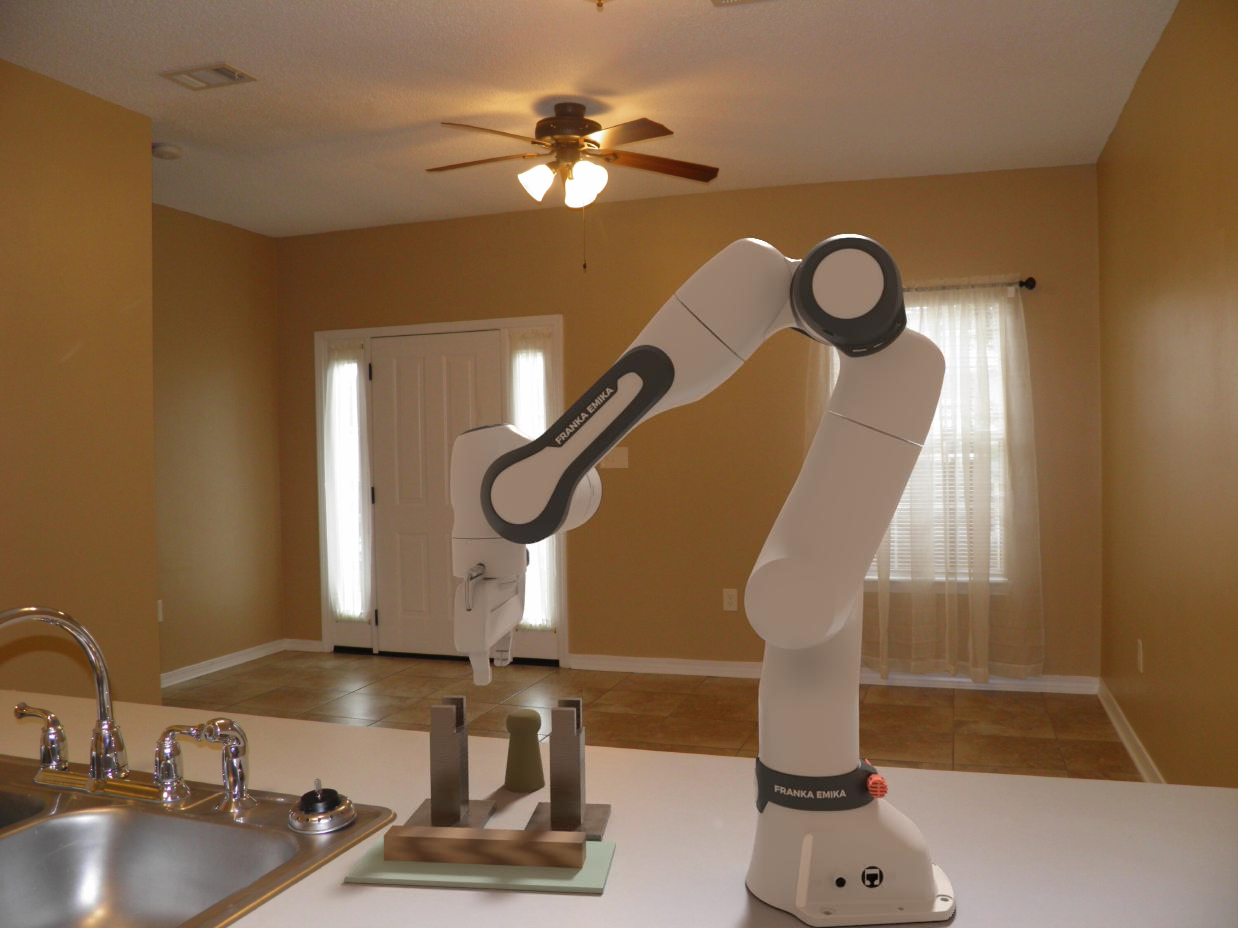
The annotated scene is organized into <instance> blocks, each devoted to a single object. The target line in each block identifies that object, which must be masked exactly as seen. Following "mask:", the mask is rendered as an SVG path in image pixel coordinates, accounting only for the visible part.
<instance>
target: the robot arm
mask: <svg viewBox="0 0 1238 928" xmlns="http://www.w3.org/2000/svg"><path fill="white" fill-rule="evenodd" d="M906 311H907V310H906V306H905V298H904V288H903V282H902V276H901V273H900V269H899V266H898V264H897V262H896V260H895V258H894V256H893V255H892V254H891V253H890V251H888V249H886V247H884V246H883V245H881V243H879V242H878V241H876V240H875V239H872V238H870V237H867V236H864V235H860V234H854V233H852V234H850V233H849V234H848V233H847V234H838V235H835V236H831V237H828V238H827V239H824V240H823V241H820V242H819V243H818V244H816V245H814V246H813V247H812V248H811V249H810V250H809V251H808V252H807V253H806V254H805V256H804V257H803V258H802V259H791V258H789V257H787V256H785V255H784V254H783V253H782V252H781V251H779V250H778V249H777V248H776V247H774V246H773V245H771V244H770V243H768V242H766V241H763V240H760V239H756V238H753V237H752V238H750V237H749V238H748V237H746V238H745V237H744V238H740V239H738V240H735V241H733V242H732V243H730V244H729V245H727V246H726V247H724V249H722V250H721V251H719V252H718V253H716V255H714V256H713V257H712V258H711V259H710V260H708V261H707V262H706V263H704V264H703V265H702V266H701V267H700V268H699V269H698V270H696V271H695V272H694V273H693V274H692V275H691V276H690V277H689V278H688V279H687V280H686V281H685V282H684V283H683V284H682V285H681V286H680V287H679V288H678V289H677V290H676V291H675V292H674V294H672V296H670V298H669V299H668V300H667V301H666V302H665V303H664V304H663V305H662V307H661V308H660V309H659V310H658V311H657V313H656V314H655V315H654V316H653V317H652V318H651V320H650V321H649V322H648V323H647V324H646V326H645V327H644V328H643V329H642V330H641V332H640V333H639V334H638V336H637V337H636V338H635V339H634V340H633V342H632V343H631V344H630V345H629V346H628V347H627V348H626V349H625V351H624V352H623V353H622V354H621V355H620V357H618V359H617V360H616V361H615V362H614V364H613V365H612V366H611V367H609V369H608V370H607V371H606V372H605V373H604V374H603V375H601V377H599V379H597V381H595V383H593V384H592V385H591V386H590V387H589V388H588V389H587V390H586V391H585V392H584V393H583V394H582V395H581V396H580V397H579V398H578V399H577V400H576V401H575V402H574V403H573V404H572V405H571V406H570V407H569V408H568V409H567V410H566V411H565V412H564V413H563V414H562V415H561V416H560V417H559V418H557V420H556V421H555V422H553V424H552V425H551V426H549V428H548V429H547V430H546V431H544V432H543V433H542V434H541V435H539V437H537V438H532V437H531V436H529V435H527V434H525V433H524V432H523V431H522V430H520V429H519V427H517V426H516V425H514V424H510V423H494V424H488V425H487V424H486V425H481V426H477V427H473V428H470V429H467V430H465V431H463V432H462V433H460V434H459V436H458V437H456V439H455V440H454V443H453V447H452V451H451V459H450V479H449V480H450V481H449V482H450V483H449V485H450V486H449V488H450V491H449V492H450V493H449V494H450V503H451V506H452V510H453V515H454V520H453V521H454V522H453V527H452V530H451V531H452V532H451V552H452V553H451V554H452V555H451V556H452V575H453V577H456V578H460V579H461V578H463V582H461V583H460V584H458V586H457V588H456V590H455V596H454V612H453V613H454V615H453V616H454V618H453V622H454V623H453V626H454V627H453V638H454V646H455V649H456V651H457V652H458V653H468V657H469V661H470V664H471V667H472V672H473V683H474V685H475V686H488V685H489V684H490V683H491V682H492V679H493V676H492V675H493V673H492V670H493V669H492V667H491V665H490V655H491V647H493V646H494V651H493V664H494V665H495V666H496V667H506V666H508V664H510V663H511V649H512V644H513V643H512V642H513V636H514V632H513V631H514V630H513V629H514V627H516V626H517V625H518V624H519V623H521V622H522V620H523V618H524V613H525V605H526V604H525V601H526V600H525V599H526V578H527V577H526V575H527V574H526V573H527V569H528V568H527V567H528V566H530V562H531V561H530V559H531V558H530V551H529V548H527V545H532V544H535V543H539V542H541V541H544V540H546V539H548V538H549V537H551V536H553V535H554V536H555V535H557V534H560V533H564V532H567V531H570V530H573V529H575V528H578V527H580V526H583V524H585V523H587V522H588V521H589V520H591V519H592V518H593V517H594V516H595V515H596V513H597V512H598V510H599V508H600V506H601V502H602V498H603V483H602V482H603V481H602V479H601V476H600V473H599V471H598V470H597V468H596V466H597V465H598V464H599V463H600V462H602V460H603V459H604V458H605V457H606V456H607V455H609V453H610V452H611V451H612V450H613V449H614V448H615V447H616V446H618V445H619V444H620V442H621V441H622V440H623V439H624V438H625V437H626V436H627V435H628V434H629V433H631V432H632V430H635V429H636V427H638V426H640V424H642V423H644V422H645V421H647V420H648V419H650V418H652V417H655V416H656V415H658V414H661V413H663V412H666V411H668V410H672V409H674V408H679V407H682V406H684V405H688V404H692V403H695V402H697V401H700V400H702V399H703V398H705V397H706V396H707V395H708V394H711V393H712V392H713V391H714V390H716V389H717V388H719V387H720V386H721V385H722V384H724V383H725V381H727V380H728V379H730V377H732V375H734V374H735V373H736V372H737V371H738V370H739V369H740V368H741V367H742V366H743V365H744V364H745V363H746V362H747V361H748V360H749V359H750V358H751V357H752V355H753V354H754V353H755V352H756V351H757V350H758V348H760V347H761V346H762V345H763V344H764V343H765V342H766V341H768V339H770V337H772V336H773V335H774V334H776V333H777V332H779V331H781V330H783V329H786V328H789V329H791V330H794V331H795V332H798V333H800V334H802V335H804V336H806V337H808V338H810V340H811V339H812V340H813V341H816V342H817V343H820V344H823V345H826V346H829V347H834V349H835V350H836V352H837V354H838V358H839V372H838V376H837V380H836V383H835V386H834V388H833V391H832V393H831V396H830V398H829V401H828V403H827V405H826V407H825V411H824V413H823V415H822V418H821V421H820V423H819V425H818V426H817V427H818V428H817V430H816V433H815V435H814V438H813V440H812V443H811V444H810V448H809V450H808V452H807V455H806V457H805V460H804V463H803V464H802V467H801V469H800V472H799V474H798V476H797V479H796V481H795V483H794V485H793V486H792V489H791V490H790V493H789V494H788V496H787V498H786V500H785V502H784V504H783V506H782V508H781V510H780V512H779V513H778V516H777V517H776V519H775V522H774V524H773V526H772V528H771V530H770V532H769V534H768V536H767V538H766V540H765V542H764V544H763V546H762V549H761V551H760V553H759V555H758V557H757V559H756V561H755V564H754V565H753V568H752V571H751V573H750V574H749V577H748V580H747V582H746V585H745V590H744V599H743V600H744V601H743V604H744V605H743V606H744V609H745V610H744V611H745V614H746V618H747V620H748V622H749V624H750V626H751V627H752V629H753V630H754V631H755V633H756V634H757V635H758V636H759V637H760V638H761V639H762V640H764V641H765V645H764V652H763V653H764V654H763V661H762V662H763V663H762V669H761V675H760V680H759V685H758V748H759V749H758V752H759V753H758V754H757V755H756V758H755V767H754V773H753V774H754V776H753V777H754V803H755V806H756V809H757V817H756V818H757V820H756V826H755V836H754V843H753V848H752V853H751V858H750V862H749V864H748V865H749V866H748V869H747V873H746V876H745V883H746V886H747V888H748V889H749V890H750V892H751V893H752V894H753V895H754V896H755V897H756V898H758V899H759V900H761V901H763V902H765V903H767V904H768V905H770V906H771V907H775V908H778V909H780V910H783V911H785V912H787V913H790V914H792V915H794V916H795V917H797V919H799V920H800V921H802V922H804V923H805V924H807V925H809V926H812V927H815V928H816V927H817V928H820V927H821V928H823V927H824V928H825V927H842V926H844V927H845V926H846V927H847V926H856V925H857V926H861V925H862V926H863V925H880V924H897V923H899V924H901V923H917V922H933V921H934V922H936V921H946V920H949V919H950V918H951V917H953V915H954V913H955V911H956V907H957V906H956V904H955V903H956V896H955V890H954V887H953V884H952V883H951V881H950V879H949V877H948V876H947V874H946V873H945V872H944V870H942V868H941V867H940V866H939V865H937V864H936V863H935V862H934V861H932V857H931V853H930V849H929V846H928V843H927V842H926V839H925V837H924V835H923V834H922V832H921V830H920V828H919V827H918V826H917V825H916V824H915V823H914V821H912V820H911V819H910V818H909V817H908V816H906V815H905V814H903V813H902V812H901V811H900V810H898V809H897V808H896V807H894V806H893V805H892V804H891V803H890V802H887V801H886V800H885V799H884V798H885V797H886V795H887V794H888V793H889V792H888V791H889V788H888V784H887V783H886V780H885V778H884V777H883V776H882V775H880V774H879V773H878V770H877V768H875V767H874V766H872V764H871V762H869V760H868V759H867V758H865V760H863V759H862V758H860V731H859V730H860V710H859V707H860V705H859V704H860V703H859V702H860V701H859V700H860V697H859V695H860V693H859V692H860V676H861V663H862V662H861V661H862V644H863V643H862V642H863V641H862V640H863V625H864V624H863V620H864V619H863V617H864V590H865V589H864V585H865V583H864V581H865V579H866V577H867V574H868V572H869V569H870V567H871V565H872V562H873V561H874V559H875V556H876V555H877V552H878V550H879V548H880V545H881V543H882V541H883V539H884V536H885V534H886V532H887V530H888V528H889V526H890V523H891V522H892V520H893V518H894V516H895V513H896V511H897V509H898V505H899V504H900V501H901V499H902V497H903V494H904V492H905V489H906V487H907V485H908V483H909V481H910V479H911V478H910V477H911V475H912V473H913V471H914V469H915V466H916V464H917V462H918V459H919V456H920V454H921V452H922V450H923V446H924V445H925V442H926V439H927V437H928V434H929V432H930V430H931V427H932V423H933V420H934V418H935V414H936V411H937V408H938V405H939V401H940V397H941V393H942V388H943V383H944V379H945V375H946V360H945V356H944V354H943V352H942V350H941V349H940V348H939V347H938V345H937V344H936V343H935V342H934V341H932V339H930V338H928V337H927V336H926V335H925V334H922V333H920V332H919V331H916V330H913V329H911V328H909V327H907V325H908V319H907V313H906ZM955 906H956V907H955ZM954 910H955V911H954ZM953 912H954V913H953ZM952 914H953V915H952ZM949 917H950V918H949Z"/></svg>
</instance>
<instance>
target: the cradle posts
mask: <svg viewBox="0 0 1238 928" xmlns="http://www.w3.org/2000/svg"><path fill="white" fill-rule="evenodd" d="M550 714H551V721H550V722H551V732H550V733H549V738H548V739H549V793H550V794H549V795H550V796H549V797H550V798H549V799H550V800H549V801H550V802H547V801H538V803H537V805H536V807H535V808H534V810H533V812H532V814H531V816H530V818H529V820H528V822H527V824H526V826H525V827H524V829H523V830H536V831H564V832H586V841H598V842H603V838H604V834H605V832H606V829H607V827H608V826H607V824H608V822H609V820H610V816H611V813H612V805H611V804H610V803H609V804H606V803H586V800H587V798H586V797H587V795H586V737H585V736H586V733H585V731H586V729H585V728H586V727H585V726H582V725H583V699H582V697H564V696H561V697H559V698H558V699H557V706H553V707H552V708H551V712H550ZM429 764H430V765H429V767H430V775H429V776H430V780H429V781H430V782H429V783H430V797H429V798H427V797H426V798H425V799H424V800H423V801H422V802H421V804H420V805H419V806H418V807H417V809H416V810H414V812H413V813H412V814H411V815H410V816H409V818H408V819H407V820H406V822H405V823H404V824H403V825H402V826H425V827H453V828H480V829H485V826H486V825H487V823H488V822H489V820H490V818H492V815H493V814H494V812H495V811H496V809H497V800H490V799H483V800H482V799H470V790H469V789H470V785H469V784H470V783H469V782H470V781H469V779H470V778H469V777H470V776H469V725H468V723H467V695H461V694H457V695H456V694H444V695H443V696H441V704H433V705H432V706H430V732H429Z"/></svg>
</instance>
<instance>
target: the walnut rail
mask: <svg viewBox="0 0 1238 928" xmlns="http://www.w3.org/2000/svg"><path fill="white" fill-rule="evenodd" d="M384 834H385V835H384V860H385V861H409V862H434V863H459V864H483V865H508V866H533V867H558V868H583V865H584V862H585V859H586V832H564V831H536V830H524V829H506V828H505V829H503V828H500V829H499V828H483V829H480V828H453V827H425V826H403V825H393V824H392V825H391V826H390V828H389V829H388V830H387V831H386V833H384Z"/></svg>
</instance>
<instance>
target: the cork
mask: <svg viewBox="0 0 1238 928" xmlns="http://www.w3.org/2000/svg"><path fill="white" fill-rule="evenodd" d="M505 720H506V723H505V725H506V726H505V727H506V730H507V732H508V733H509V742H508V749H507V750H508V751H507V759H506V767H505V776H504V785H503V787H504V788H505V790H508V791H510V792H514V793H530V792H535V791H539V790H541V789H542V788H544V787H545V786H546V781H545V776H544V768H543V767H544V766H543V762H542V755H541V748H540V740H539V732H540V730H541V728H542V717H541V715H540V713H539V712H538V711H537V710H535V709H531V708H519V709H515V710H512V711H511V712H509V713H508V715H507V716H506V719H505Z"/></svg>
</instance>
